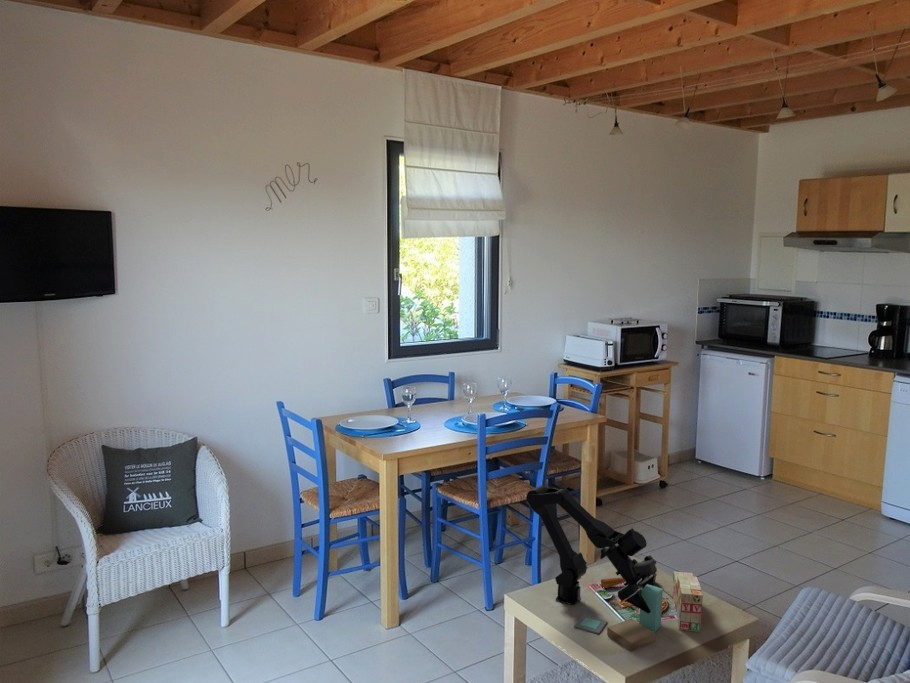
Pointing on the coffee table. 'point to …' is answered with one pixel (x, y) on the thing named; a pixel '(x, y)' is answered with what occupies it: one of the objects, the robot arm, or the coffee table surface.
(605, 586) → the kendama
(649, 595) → the teal pillar
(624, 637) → the walnut slab
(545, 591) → the coffee table surface
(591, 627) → the slate tile
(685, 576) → the stack of blocks
